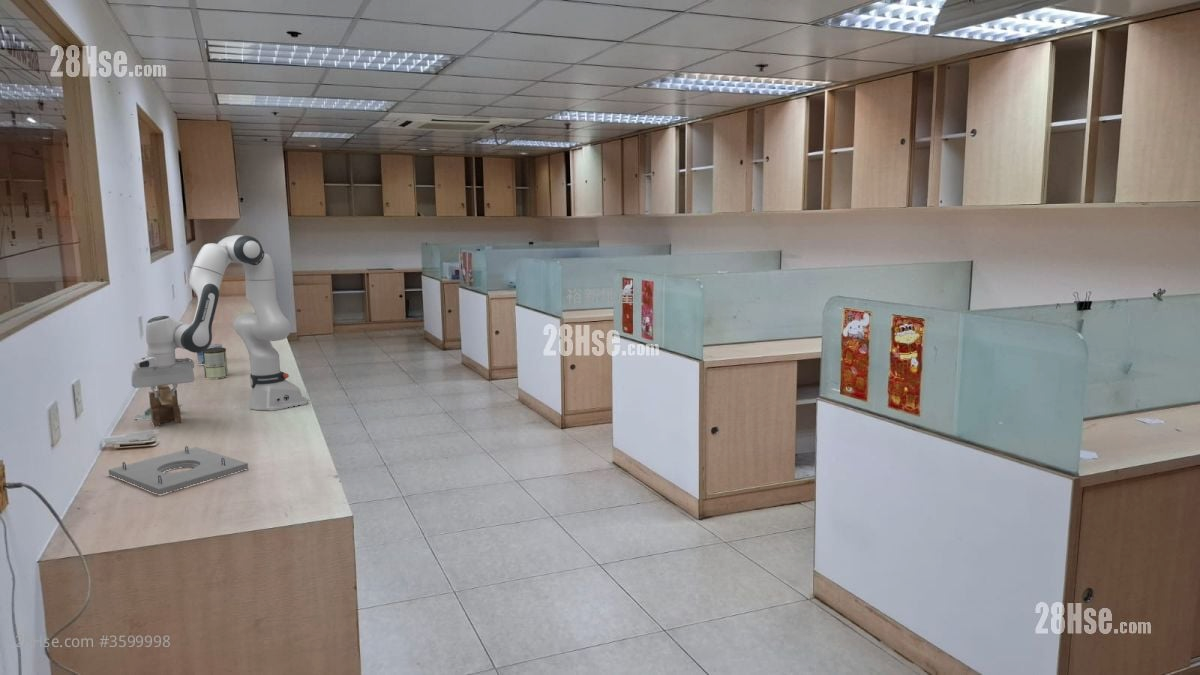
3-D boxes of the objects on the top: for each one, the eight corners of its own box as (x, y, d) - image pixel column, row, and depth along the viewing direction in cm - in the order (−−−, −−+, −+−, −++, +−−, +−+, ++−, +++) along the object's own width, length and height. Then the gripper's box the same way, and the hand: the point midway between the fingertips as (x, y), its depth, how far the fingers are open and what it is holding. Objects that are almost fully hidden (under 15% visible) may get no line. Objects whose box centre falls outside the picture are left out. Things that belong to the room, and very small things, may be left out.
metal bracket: (154, 398, 302) (187, 399, 300) (158, 410, 305) (191, 412, 302) (128, 416, 289) (162, 418, 287) (133, 429, 292) (167, 431, 289)
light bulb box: (197, 365, 395) (195, 345, 393) (206, 363, 401) (204, 343, 399) (215, 366, 393) (214, 346, 391) (224, 363, 399) (222, 344, 398)
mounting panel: (195, 440, 249) (247, 455, 233) (196, 454, 250) (248, 471, 234) (107, 462, 227) (158, 481, 211) (109, 477, 228) (159, 498, 212)
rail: (168, 397, 285) (167, 382, 284) (172, 403, 274) (171, 388, 273) (158, 398, 283) (156, 383, 282) (161, 404, 272) (160, 389, 272)
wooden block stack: (178, 418, 292) (175, 388, 290) (181, 423, 286) (178, 392, 284) (151, 422, 287) (148, 391, 285) (154, 427, 280) (150, 396, 278)
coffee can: (200, 378, 364) (198, 349, 362) (221, 374, 373) (219, 346, 370) (211, 380, 359) (208, 351, 356) (232, 377, 367) (230, 348, 364)
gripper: (192, 356, 284) (195, 391, 287) (129, 361, 273) (132, 398, 275) (194, 358, 279) (197, 394, 281) (130, 364, 268) (134, 401, 270)
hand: (164, 396), depth 278 cm, fingers closed on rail, 3 cm apart
